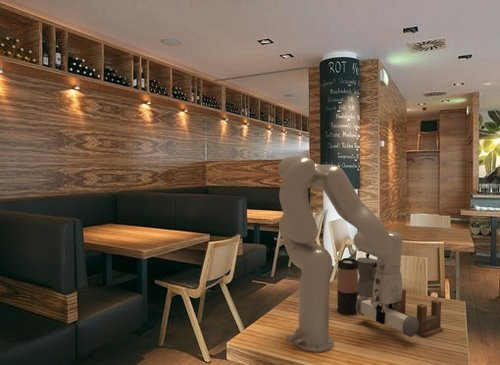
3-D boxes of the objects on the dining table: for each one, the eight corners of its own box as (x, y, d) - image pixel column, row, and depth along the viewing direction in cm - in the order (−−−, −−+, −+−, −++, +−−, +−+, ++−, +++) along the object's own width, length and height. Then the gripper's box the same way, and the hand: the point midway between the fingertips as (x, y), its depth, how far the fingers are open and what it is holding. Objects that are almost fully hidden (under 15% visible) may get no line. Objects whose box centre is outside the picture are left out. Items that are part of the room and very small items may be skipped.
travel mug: (358, 316, 141) (359, 263, 140) (337, 314, 143) (338, 262, 142) (356, 308, 149) (357, 258, 148) (336, 307, 150) (337, 257, 149)
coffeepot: (349, 290, 171) (350, 251, 170) (367, 288, 173) (367, 249, 172) (369, 302, 156) (370, 259, 155) (388, 299, 159) (389, 257, 158)
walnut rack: (443, 330, 129) (443, 302, 129) (424, 337, 124) (425, 308, 123) (398, 313, 144) (399, 287, 144) (380, 318, 139) (380, 292, 139)
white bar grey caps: (418, 335, 120) (419, 315, 120) (405, 338, 117) (406, 318, 117) (367, 312, 138) (368, 294, 138) (354, 314, 135) (356, 297, 134)
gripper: (380, 273, 119) (376, 330, 120) (413, 268, 128) (410, 321, 128) (362, 267, 126) (359, 321, 126) (395, 263, 134) (391, 313, 135)
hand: (384, 321), depth 127 cm, fingers closed on white bar grey caps, 4 cm apart
